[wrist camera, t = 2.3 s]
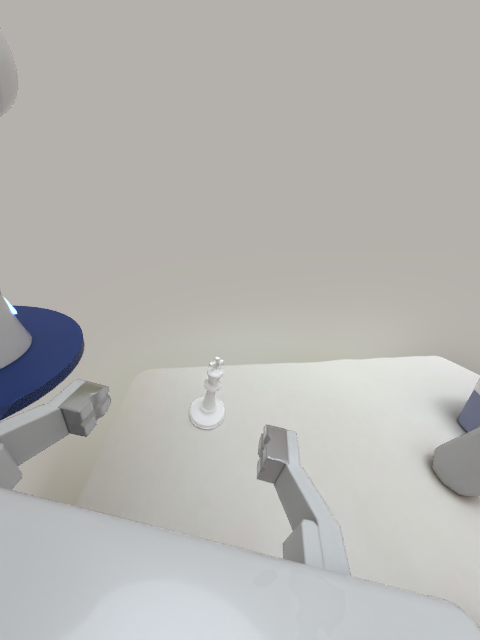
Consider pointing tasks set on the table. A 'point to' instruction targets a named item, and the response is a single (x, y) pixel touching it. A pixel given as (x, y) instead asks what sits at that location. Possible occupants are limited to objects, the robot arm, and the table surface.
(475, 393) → the bowl
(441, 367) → the table surface
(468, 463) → the grey pawn figure
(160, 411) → the table surface
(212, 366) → the chess piece
